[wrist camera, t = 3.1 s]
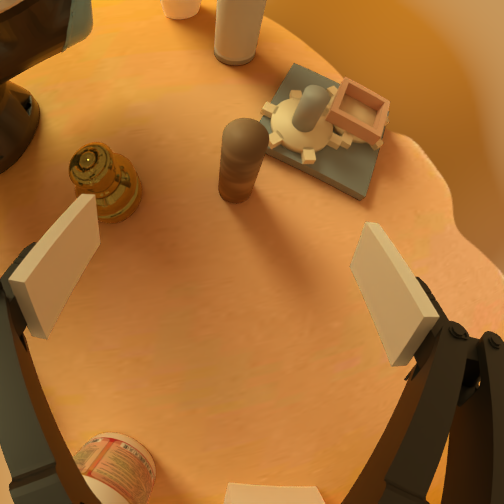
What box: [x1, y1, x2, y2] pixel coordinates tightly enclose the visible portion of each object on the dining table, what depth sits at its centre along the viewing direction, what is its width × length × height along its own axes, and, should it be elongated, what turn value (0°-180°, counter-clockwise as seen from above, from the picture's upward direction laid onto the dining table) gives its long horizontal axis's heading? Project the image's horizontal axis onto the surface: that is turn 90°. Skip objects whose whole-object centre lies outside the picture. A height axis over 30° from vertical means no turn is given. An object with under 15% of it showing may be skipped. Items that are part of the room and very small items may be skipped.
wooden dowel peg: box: [218, 118, 269, 204], centre depth 32 cm, size 4×4×12 cm
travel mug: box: [214, 0, 266, 65], centre depth 32 cm, size 6×7×20 cm
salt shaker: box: [69, 142, 142, 223], centre depth 31 cm, size 7×7×10 cm
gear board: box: [260, 63, 390, 200], centre depth 36 cm, size 16×16×9 cm
